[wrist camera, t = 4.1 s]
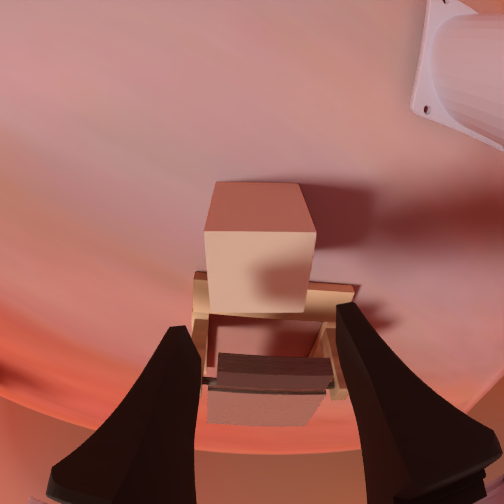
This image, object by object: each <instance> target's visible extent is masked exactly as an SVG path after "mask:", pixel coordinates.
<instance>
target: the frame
mask: <svg viewBox="0 0 504 504" xmlns="http://www.w3.org/2000/svg"><path fill="white" fill-rule="evenodd" d="M354 294H355V292H354V289H353V287H352V285H340V284H327V283H314V282H309V284H308V290H307V296H306V302H305V307H304V312H298V313H225V312H211V310H210V299H209V289H208V277H207V273H204V272H195V275H194V288H193V308H192V338H191V339H192V341H193V343H194V345H195V347H196V349H197V351H198V353H199V355H200V357H201V389H200V396H201V394H202V384H207V385H216V380H217V378H212V377H203V374H206V371H207V350H208V328H209V313H210V314H220V315H231V316H243V317H255V318H269V319H284V320H301V321H321V322H323V324H322V326H321V329H320V331H319V333H318V336H317V338H316V341H315V343H314V345H313V348H312V350H311V352H310V354H309V357H311V358H330V359H331V364H332V369H333V373H334V376H333V378H332V380H331V381H330V383H329V385H328V386H327V388H326V389H330V394H331V399H332V400H345V399H346V398H347V396H348V395H349V393H348V389H347V386H346V383H345V380H344V376H343V373H342V370H341V367H340V362H339V357H338V352H337V347H336V342H335V339H336V305H337V304H343V303H348V302H351V301H352V298H353V296H354ZM217 386H219V385H217ZM230 387H232V386H230ZM245 388H248V387H245ZM266 389H271V388H266Z"/></svg>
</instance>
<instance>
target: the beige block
mask: <svg viewBox="0 0 504 504" xmlns="http://www.w3.org/2000/svg"><path fill="white" fill-rule="evenodd" d="M316 234H317V232H316V229H315V227H314V224H313V221H312V219H311V216H310V213H309V211H308V208H307V205H306V203H305V200H304V198H303V195H302V192H301V190H300V187H299V185H298V183H270V182H216V183H215V187H214V191H213V195H212V200H211V204H210V208H209V212H208V216H207V220H206V224H205V229H204V239H205V253H206V265H207V277H208V289H209V299H210V310H211V312H225V313H298V312H304V307H305V302H306V296H307V290H308V284H309V278H310V272H311V266H312V260H313V254H314V247H315V240H316Z"/></svg>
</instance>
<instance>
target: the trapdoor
mask: <svg viewBox="0 0 504 504" xmlns="http://www.w3.org/2000/svg"><path fill="white" fill-rule="evenodd" d="M333 376H334V373H333V369H332V364H331V359H330V358H311V357H279V356H259V355H244V354H231V353H219V354H218V366H217V380H216V385H208V402H207V423H213V424H226V425H243V426H306V424H307V423H308V421H309V420H310V419H311V417H312V416H313V414H314V413H315V411H316V410H317V408H318V407H319V405H320V404H321V402H322V400H323V399H324V397H325V396H326V390H325V389H326V388H327V386H328V385H329V383H330V381H331V380H332V378H333ZM217 385H219V386H217ZM230 386H232V387H230ZM245 387H248V388H245ZM266 388H271V389H266Z"/></svg>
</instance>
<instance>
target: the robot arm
mask: <svg viewBox="0 0 504 504" xmlns="http://www.w3.org/2000/svg"><path fill="white" fill-rule="evenodd" d="M445 1H446V4H445V3H444V2H443V1H442V0H427V6H426V15H425V23H424V30H423V37H422V43H421V49H420V55H419V61H418V66H417V72H416V77H415V82H414V87H413V91H412V96H411V100H410V110H411V111H412V113H414V114H415V115H418V116H420V117H423V118H426V119H429V120H431V121H434V122H437V123H439V124H442V125H444V126H447V127H449V128H452V129H454V130H457V131H459V132H461V133H464V134H466V135H468V136H470V137H473V138H475V139H477V140H479V141H481V142H483V143H486V144H488V145H490V146H492V147H494V148H496V149H498V150H500V151H502V152H504V14H479V13H478V12H476V11H475V10H473V9H471V8H470V7H468V6H467V5H465V4H463V3H462V2H460V1H458V0H445ZM426 105H427V107H428V111H427V112H426V113H424V107H425V106H426ZM335 342H336V347H337V352H338V357H339V362H340V367H341V370H342V373H343V376H344V380H345V383H346V386H347V389H348V393H349V396H350V399H351V403H352V406H353V409H354V413H355V416H356V421H357V425H358V430H359V436H360V442H361V449H362V456H363V463H364V472H365V481H366V492H367V504H504V474H503V475H501V476H500V477H498V478H496V479H494V480H492V481H491V482H489V483H487V484H485V485H484V482H483V478H485V477H486V473H485V470H484V468H486V467H487V466H489V465H490V464H492V463H493V462H495V461H496V460H497V459H499V458H500V457H501V456H502V454H503V452H502V449H501V446H500V443H499V441H498V439H497V437H496V435H495V433H494V431H493V430H492V429H490V428H488V427H486V426H484V425H482V424H481V423H479V422H477V421H476V420H474V419H472V418H471V417H469V416H468V415H466V414H465V413H463V412H462V411H460V410H458V409H457V408H456V407H454V406H453V405H452V404H450V403H449V402H448V401H446V400H445V399H444V398H442V397H441V396H440V395H438V394H437V393H436V392H434V391H433V390H432V389H431V388H430V387H429V386H427V385H426V384H425V383H424V382H423V381H422V380H421V379H420V378H419V377H417V376H416V375H415V374H414V373H413V372H412V371H411V370H410V369H409V368H408V367H407V366H406V365H405V364H404V363H403V362H402V361H401V360H400V358H399V357H398V356H397V355H396V354H395V353H394V352H393V351H392V350H391V349H390V347H389V346H388V345H387V344H386V343H385V342H384V340H383V339H382V338H381V337H380V336H379V334H378V333H377V332H376V331H375V329H374V328H373V327H372V326H371V324H370V323H369V322H368V320H367V319H366V318H365V316H364V315H363V314H362V312H361V311H360V309H359V308H358V306H357V305H356V303H354V302H348V303H343V304H337V305H336V339H335ZM200 389H201V357H200V355H199V353H198V351H197V349H196V347H195V345H194V343H193V341H192V339H191V337H190V334H189V332H188V330H187V328H186V326H185V325H184V326H174V327H169V329H168V330H167V332H166V334H165V335H164V337H163V339H162V340H161V342H160V344H159V345H158V347H157V349H156V350H155V352H154V354H153V355H152V357H151V359H150V360H149V362H148V364H147V365H146V367H145V368H144V370H143V372H142V373H141V375H140V376H139V378H138V379H137V381H136V382H135V384H134V385H133V387H132V388H131V389H130V391H129V392H128V394H127V395H126V397H125V398H124V399H123V401H122V402H121V403H120V404H119V406H118V407H117V408H116V409H115V411H114V412H113V413H112V414H111V415H110V417H109V418H108V419H107V420H106V421H105V422H104V423H103V424H102V425H101V426H100V427H99V428H98V429H97V431H96V432H95V433H94V434H93V435H92V436H90V438H88V439H87V440H86V441H85V442H84V443H83V444H82V445H81V446H79V447H78V448H77V449H76V450H75V451H73V452H72V453H71V454H70V455H68V456H67V457H65V458H64V459H63V460H61V461H60V462H59V463H57V464H56V465H54V466H53V467H52V469H51V474H50V478H49V482H48V487H47V491H46V495H47V497H48V498H51V499H53V500H55V501H57V502H60V503H62V504H196V491H195V474H194V437H195V428H196V420H197V412H198V405H199V397H200ZM28 504H47V503H45V502H42V501H40V500H38V499H36V498H33V497H29V501H28Z"/></svg>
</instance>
